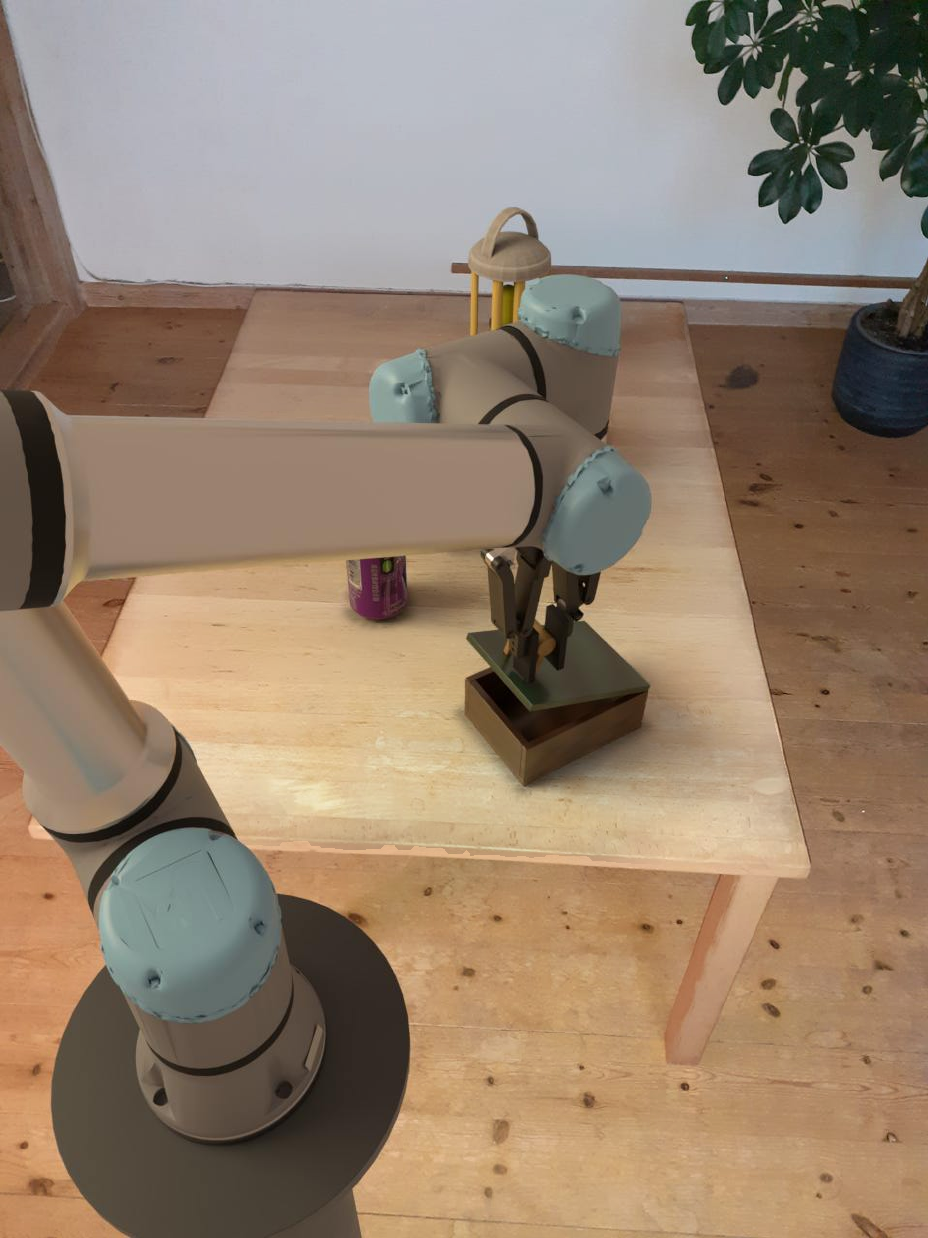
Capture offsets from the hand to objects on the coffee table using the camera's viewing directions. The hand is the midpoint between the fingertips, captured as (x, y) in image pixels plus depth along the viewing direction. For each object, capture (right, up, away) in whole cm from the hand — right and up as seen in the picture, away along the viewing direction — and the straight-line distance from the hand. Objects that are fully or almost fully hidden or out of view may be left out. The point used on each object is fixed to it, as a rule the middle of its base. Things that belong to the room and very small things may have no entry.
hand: (538, 667), depth 97 cm
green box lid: (+2, 0, +5) cm, 6 cm away
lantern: (0, +49, +71) cm, 86 cm away
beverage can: (-18, +6, +25) cm, 31 cm away
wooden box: (+2, -6, +11) cm, 13 cm away
